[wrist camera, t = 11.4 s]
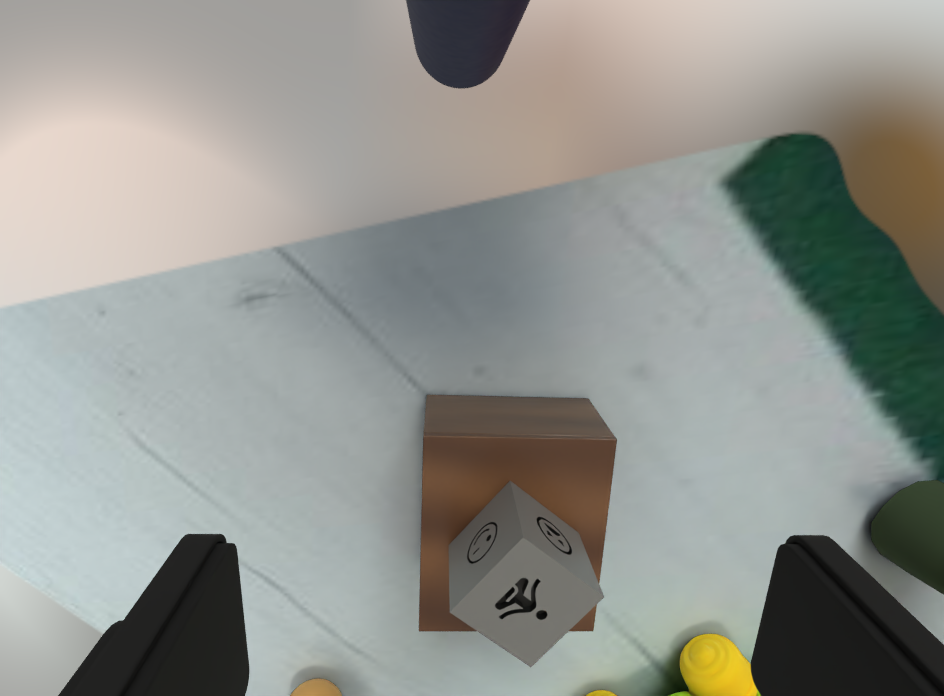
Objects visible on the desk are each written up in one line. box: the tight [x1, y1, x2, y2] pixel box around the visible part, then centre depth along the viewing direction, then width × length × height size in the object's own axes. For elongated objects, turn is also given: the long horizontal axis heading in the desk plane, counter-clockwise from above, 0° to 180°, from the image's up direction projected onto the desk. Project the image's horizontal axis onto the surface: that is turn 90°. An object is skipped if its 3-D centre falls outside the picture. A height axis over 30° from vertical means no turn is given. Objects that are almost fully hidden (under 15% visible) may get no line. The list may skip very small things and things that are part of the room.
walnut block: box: [419, 395, 617, 631], centre depth 33 cm, size 12×10×6 cm
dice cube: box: [449, 481, 604, 667], centre depth 28 cm, size 5×5×5 cm
